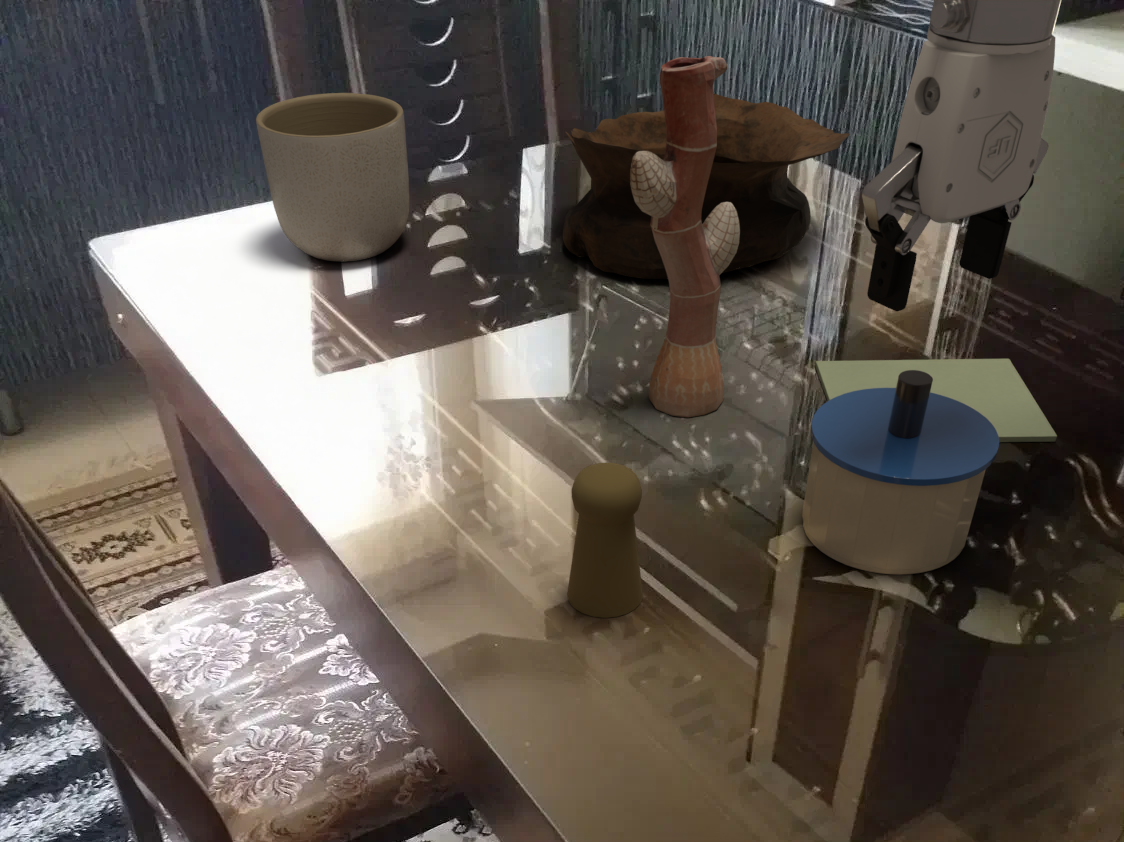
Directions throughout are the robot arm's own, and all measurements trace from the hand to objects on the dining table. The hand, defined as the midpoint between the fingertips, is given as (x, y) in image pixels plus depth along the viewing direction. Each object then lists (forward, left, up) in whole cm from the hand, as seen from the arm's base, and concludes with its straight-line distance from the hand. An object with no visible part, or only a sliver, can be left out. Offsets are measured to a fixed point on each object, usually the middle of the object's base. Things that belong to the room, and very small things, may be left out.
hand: (932, 288), depth 83 cm
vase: (+16, -23, -21) cm, 35 cm away
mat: (-9, -22, -21) cm, 32 cm away
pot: (0, 0, -21) cm, 21 cm away
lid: (0, 0, -12) cm, 12 cm away
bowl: (+11, -65, -21) cm, 69 cm away
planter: (+54, -64, -21) cm, 86 cm away
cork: (+24, +9, -21) cm, 33 cm away
